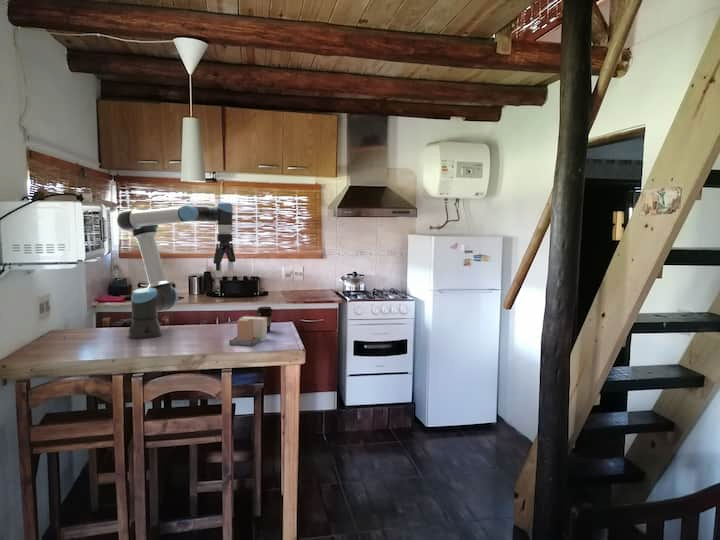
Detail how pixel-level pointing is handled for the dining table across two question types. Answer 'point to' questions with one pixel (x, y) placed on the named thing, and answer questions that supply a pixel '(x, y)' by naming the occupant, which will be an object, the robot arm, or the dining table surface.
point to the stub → (245, 330)
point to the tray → (244, 342)
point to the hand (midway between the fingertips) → (224, 275)
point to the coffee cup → (265, 315)
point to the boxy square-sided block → (258, 326)
